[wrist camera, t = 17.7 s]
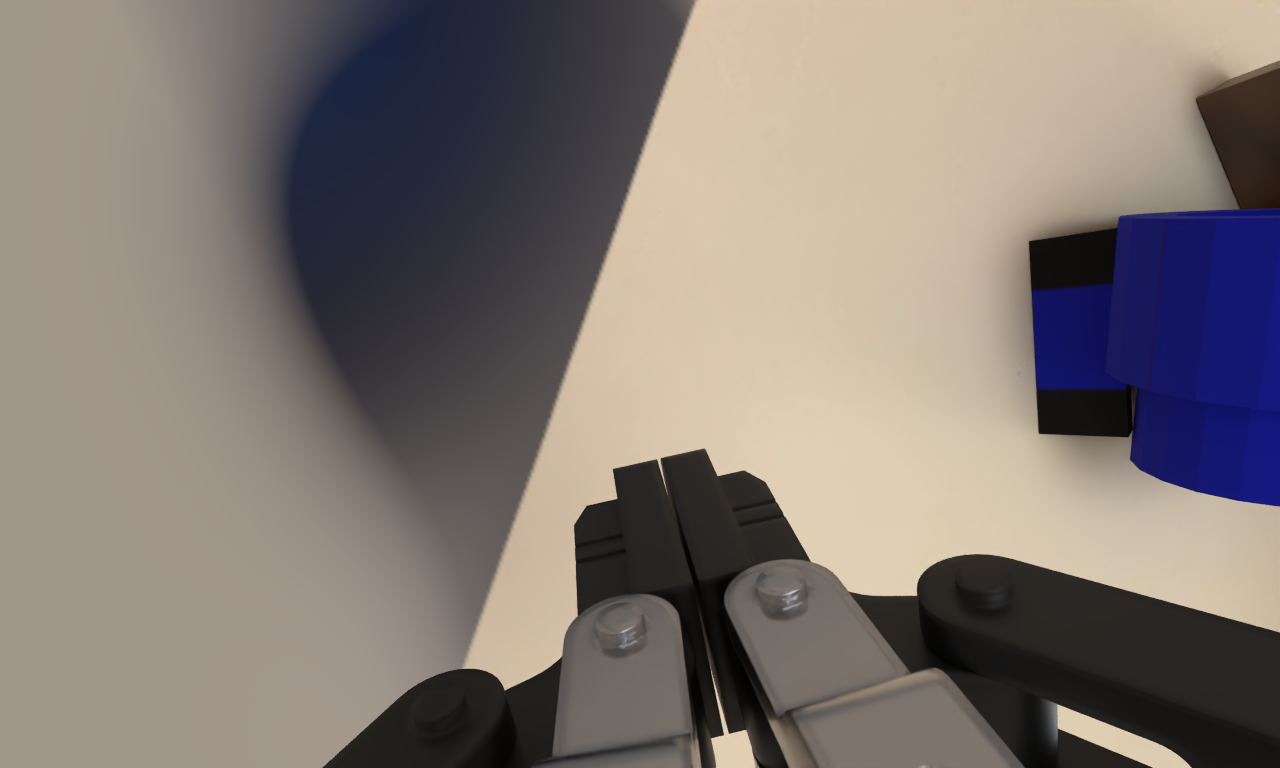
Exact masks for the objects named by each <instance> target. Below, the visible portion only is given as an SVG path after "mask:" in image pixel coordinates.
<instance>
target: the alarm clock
mask: <svg viewBox="0 0 1280 768" xmlns="http://www.w3.org/2000/svg"><path fill="white" fill-rule="evenodd" d="M1029 246H1030V265H1031V284H1032V304H1033V323H1034V342H1035V362H1036V381H1037V400H1038V420H1039V434H1058V435H1084V436H1109V437H1129V435H1130V433H1131V432H1132V430H1133V435H1132V445H1131V455H1130V460H1131V461H1132V462H1133V463H1134V464H1135V465H1136V466H1137V467H1138V468H1139V469H1140V470H1141V471H1143V472H1145V473H1147V474H1149V475H1152V476H1154V477H1156V478H1158V479H1160V480H1162V481H1164V482H1167V483H1171V484H1174V485H1177V486H1180V487H1183V488H1186V489H1189V490H1193V491H1196V492H1200V493H1205V494H1209V495H1214V496H1218V497H1223V498H1228V499H1232V500H1237V501H1243V502H1250V503H1258V504H1265V505H1272V506H1280V208H1268V209H1239V210H1212V211H1189V212H1168V213H1151V214H1136V215H1126V216H1120V217H1119V221H1118V228H1115V229H1108V230H1101V231H1095V232H1088V233H1081V234H1075V235H1068V236H1061V237H1055V238H1048V239H1042V240H1035V241H1029ZM1131 385H1132V386H1135V387H1137V394H1136V404H1135V414H1134V425H1133V423H1132V401H1131Z"/></svg>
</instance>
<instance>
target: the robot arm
mask: <svg viewBox="0 0 1280 768" xmlns="http://www.w3.org/2000/svg"><path fill="white" fill-rule="evenodd" d="M661 465H662V470H663V475H664V480H665V485H666V488H665V485H664V482H663V478H662V475H661V471H660V468H659V464H658V461H657V459H656V460H651V461H647V462H642V463H638V464H634V465H629V466H625V467H620V468H616V469H613V473H614V479H615V486H616V492H617V498H618V499H615V500H611V501H606V502H602V503H598V504H593V505H589V506H586V508H585V509H584V511H583V512H582V514H581V515H580V517H579V519H578V520H577V522H576V523H575V525H574V533H575V547H576V548H575V558H576V583H577V608H578V617H577V618H576V619H575V620H574V621H573V622H572V623H571V625H570V626H569V628H568V630H567V632H566V634H565V638H564V646H563V655H562V657H561V658H560V659H559V660H558V661H557V662H556V663H554V664H553V665H552V666H551V667H549V668H548V669H546V670H545V671H543V672H542V673H540V674H538V675H536V676H534V677H532V678H530V679H528V680H526V681H524V682H522V683H520V684H518V685H516V686H514V687H511V688H509V689H507V690H505V691H504V688H503V685H502V683H501V682H500V681H499V679H498V678H497V677H495V676H494V675H493V674H491V673H488V672H486V671H483V670H478V669H458V670H453V671H448V672H445V673H441V674H438V675H436V676H433V677H431V678H429V679H426V680H425V681H423V682H421V683H419V684H417V685H416V686H414V687H413V688H411V689H410V690H408V691H407V692H406V693H405V694H403V695H402V696H401V697H400V698H399V699H397V700H396V701H395V702H394V703H393V704H392V705H391V706H390V707H389V708H388V709H387V710H385V711H384V712H383V713H382V714H381V715H380V716H379V717H378V718H377V719H376V720H374V721H373V722H372V723H371V724H370V725H369V726H368V727H367V728H366V729H364V730H363V731H362V732H361V733H360V734H359V735H358V736H357V737H356V738H355V739H353V741H351V742H350V743H349V744H348V745H347V746H346V747H345V748H344V749H342V750H341V751H340V752H339V753H338V754H337V755H336V756H335V757H334V758H333V759H332V760H330V761H329V762H328V763H327V764H326V765H325V766H324V767H323V768H716V762H715V756H714V751H713V746H712V741H711V738H714V737H718V736H722V735H724V733H723V728H722V723H721V718H720V713H719V709H718V704H717V699H716V694H715V689H714V684H713V679H712V675H713V678H714V682H715V685H716V689H717V693H718V696H719V700H720V703H721V707H722V710H723V714H724V718H725V721H726V725H727V728H728V732H729V734H730V733H734V732H738V731H742V730H747V733H748V736H749V740H750V743H751V746H752V751H753V756H754V761H755V767H756V768H1152V767H1150V766H1147V765H1145V764H1143V763H1140V762H1138V761H1135V760H1133V759H1130V758H1128V757H1126V756H1123V755H1121V754H1118V753H1116V752H1113V751H1111V750H1108V749H1106V748H1104V747H1101V746H1099V745H1096V744H1094V743H1091V742H1089V741H1087V740H1084V739H1082V738H1079V737H1077V736H1074V735H1072V734H1070V733H1067V732H1065V731H1062V730H1060V729H1058V723H1057V704H1058V705H1061V706H1064V707H1066V708H1069V709H1071V710H1074V711H1076V712H1079V713H1081V714H1084V715H1087V716H1089V717H1092V718H1094V719H1097V720H1099V721H1102V722H1105V723H1107V724H1110V725H1112V726H1115V727H1117V728H1120V729H1123V730H1125V731H1128V732H1130V733H1133V734H1135V735H1138V736H1140V737H1143V738H1146V739H1148V740H1151V741H1153V742H1156V743H1158V744H1160V745H1163V746H1165V747H1166V748H1168V749H1170V750H1172V751H1173V752H1175V753H1176V754H1177V755H1179V756H1180V757H1181V758H1182V759H1184V760H1185V761H1186V762H1187V763H1188V764H1189V765H1190V766H1191V767H1192V768H1280V633H1279V632H1276V631H1272V630H1268V629H1265V628H1261V627H1257V626H1254V625H1250V624H1246V623H1243V622H1239V621H1236V620H1232V619H1228V618H1225V617H1221V616H1217V615H1214V614H1210V613H1206V612H1203V611H1199V610H1195V609H1192V608H1188V607H1185V606H1181V605H1177V604H1174V603H1170V602H1166V601H1163V600H1159V599H1155V598H1152V597H1148V596H1144V595H1141V594H1137V593H1134V592H1130V591H1126V590H1123V589H1119V588H1115V587H1112V586H1108V585H1104V584H1101V583H1097V582H1093V581H1090V580H1086V579H1083V578H1079V577H1075V576H1072V575H1068V574H1064V573H1061V572H1057V571H1053V570H1050V569H1046V568H1043V567H1039V566H1035V565H1032V564H1028V563H1024V562H1021V561H1017V560H1013V559H1010V558H1005V557H1001V556H994V555H982V554H973V555H962V556H956V557H952V558H948V559H945V560H942V561H940V562H937V563H936V564H934V565H932V566H930V567H929V568H928V569H927V570H926V571H924V573H923V574H922V575H921V577H920V578H919V581H918V583H917V596H869V595H861V594H857V593H852V592H849V591H847V589H846V588H845V587H844V585H843V584H842V583H841V581H840V580H839V579H838V578H837V576H836V575H835V574H834V573H833V572H831V571H830V570H828V569H827V568H825V567H823V566H821V565H819V564H816V563H813V562H811V561H810V559H809V557H808V556H807V554H806V552H805V550H804V549H803V547H802V545H801V544H800V542H799V540H798V538H797V537H796V535H795V533H794V531H793V530H792V528H791V526H790V524H789V523H788V521H787V519H786V517H784V515H783V512H782V510H781V509H780V507H779V505H778V503H777V502H776V501H775V498H774V496H773V495H772V493H771V491H770V489H769V488H768V486H767V484H766V482H764V481H762V480H761V479H759V478H757V477H755V476H753V475H751V474H750V473H748V472H746V471H739V472H735V473H731V474H726V475H722V476H717V474H716V472H715V470H714V468H713V465H712V463H711V461H710V459H709V456H708V454H707V452H706V450H705V449H700V450H696V451H691V452H687V453H682V454H678V455H673V456H669V457H664V458H661ZM666 490H667V492H666ZM667 494H668V495H667ZM710 667H711V669H710ZM711 671H712V674H711Z"/></svg>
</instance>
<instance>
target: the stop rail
mask: <svg viewBox="0 0 1280 768" xmlns="http://www.w3.org/2000/svg"><path fill="white" fill-rule="evenodd" d="M1196 100H1197V102H1198V105H1199V107H1200V109H1201V112H1202V114H1203V117H1204V119H1205V122H1206V124H1207V127H1208V129H1209V131H1210V134H1211V136H1212V139H1213V141H1214V144H1215V146H1216V148H1217V151H1218V153H1219V156H1220V158H1221V161H1222V163H1223V166H1224V168H1225V170H1226V173H1227V175H1228V178H1229V180H1230V183H1231V185H1232V187H1233V190H1234V192H1235V195H1236V197H1237V200H1238V202H1239V205H1240V207H1241V209H1268V208H1280V61H1277V62H1275V63H1272V64H1269V65H1267V66H1264V67H1261V68H1259V69H1256V70H1254V71H1251V72H1248V73H1246V74H1243V75H1240V76H1238V77H1235V78H1233V79H1231V80H1229V81H1227V82H1225V83H1223V84H1222V85H1220V86H1218V87H1216V88H1214V89H1212V90H1211V91H1209V92H1207V93H1205V94H1203V95H1202V96H1200V97H1198V98H1197V99H1196Z"/></svg>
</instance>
